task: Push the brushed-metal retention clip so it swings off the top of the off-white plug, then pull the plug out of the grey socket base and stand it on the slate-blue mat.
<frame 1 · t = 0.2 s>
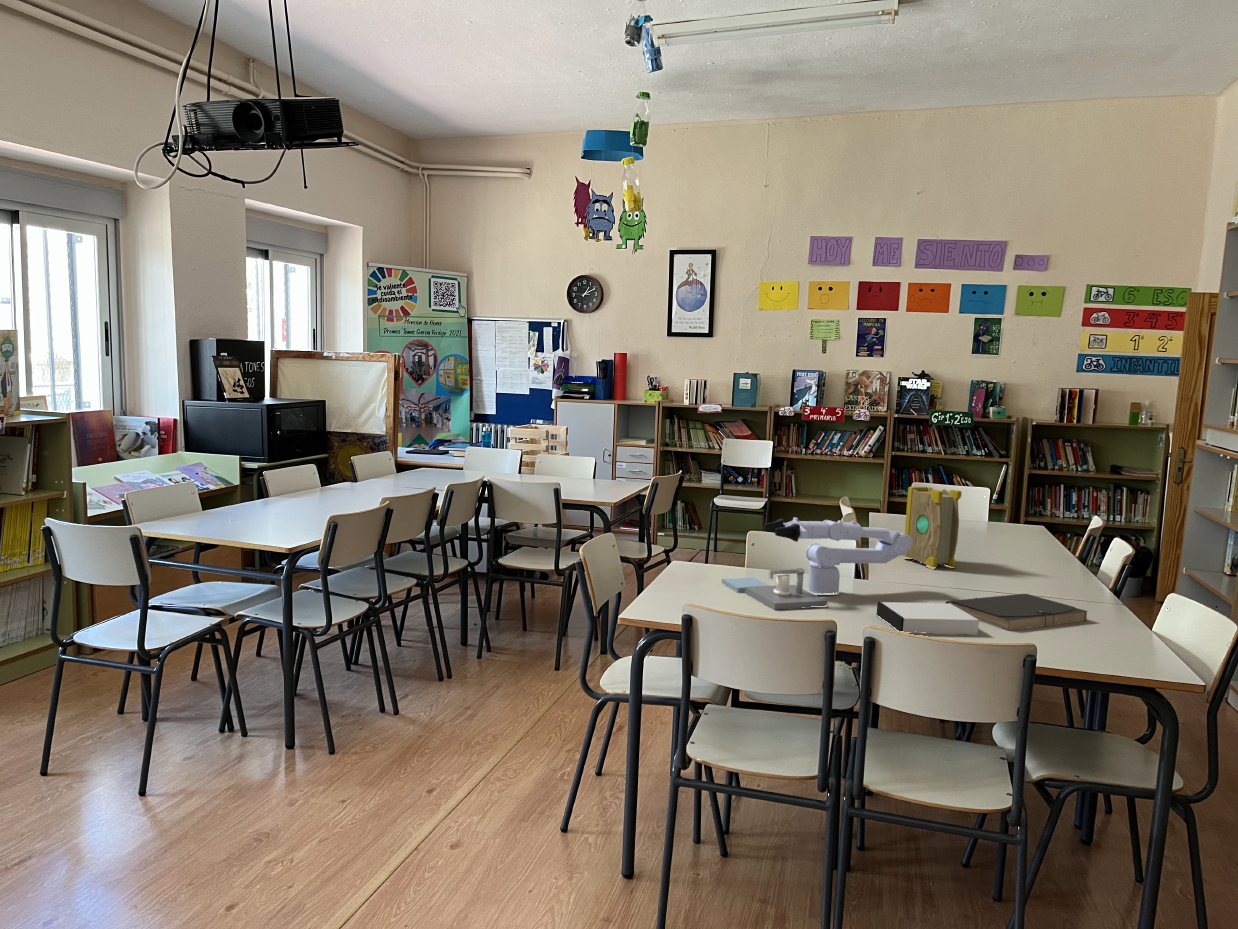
hand: (769, 529, 266), 21 cm above the table, tool horizontal, fingers open, 7 cm apart
disc drive: (925, 627, 242), on the table
clip: (786, 573, 263), point 8 cm above the table, hinge at 0.0°
mat: (745, 587, 278), on the table
grey socket base: (784, 599, 264), on the table
plug: (781, 600, 263), resting in grey socket base
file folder: (1014, 617, 257), on the table
decorative book: (928, 564, 327), on the table
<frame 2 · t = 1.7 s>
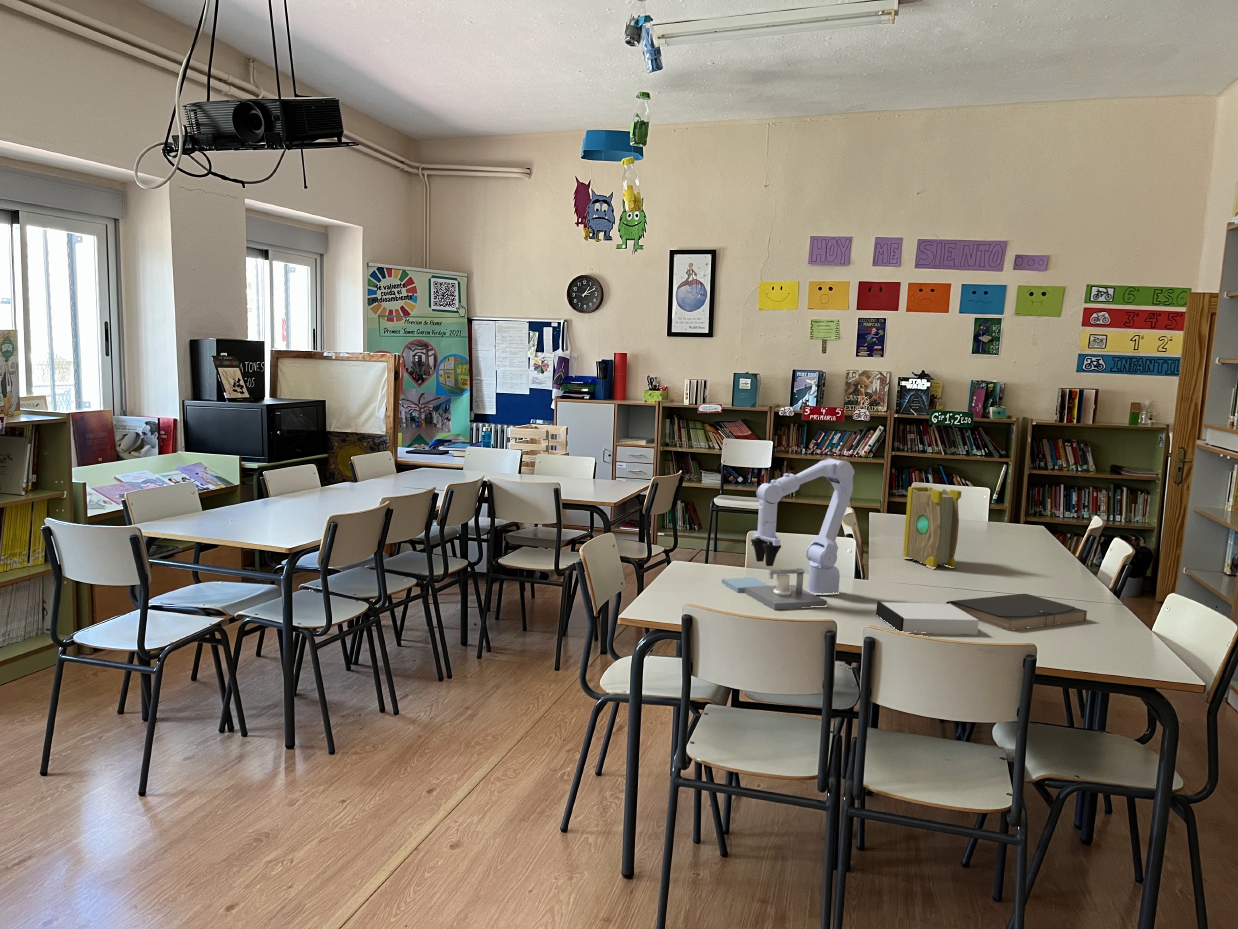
hand: (764, 563, 267), 10 cm above the table, tool pointing down, fingers open, 6 cm apart
nothing on the table moved.
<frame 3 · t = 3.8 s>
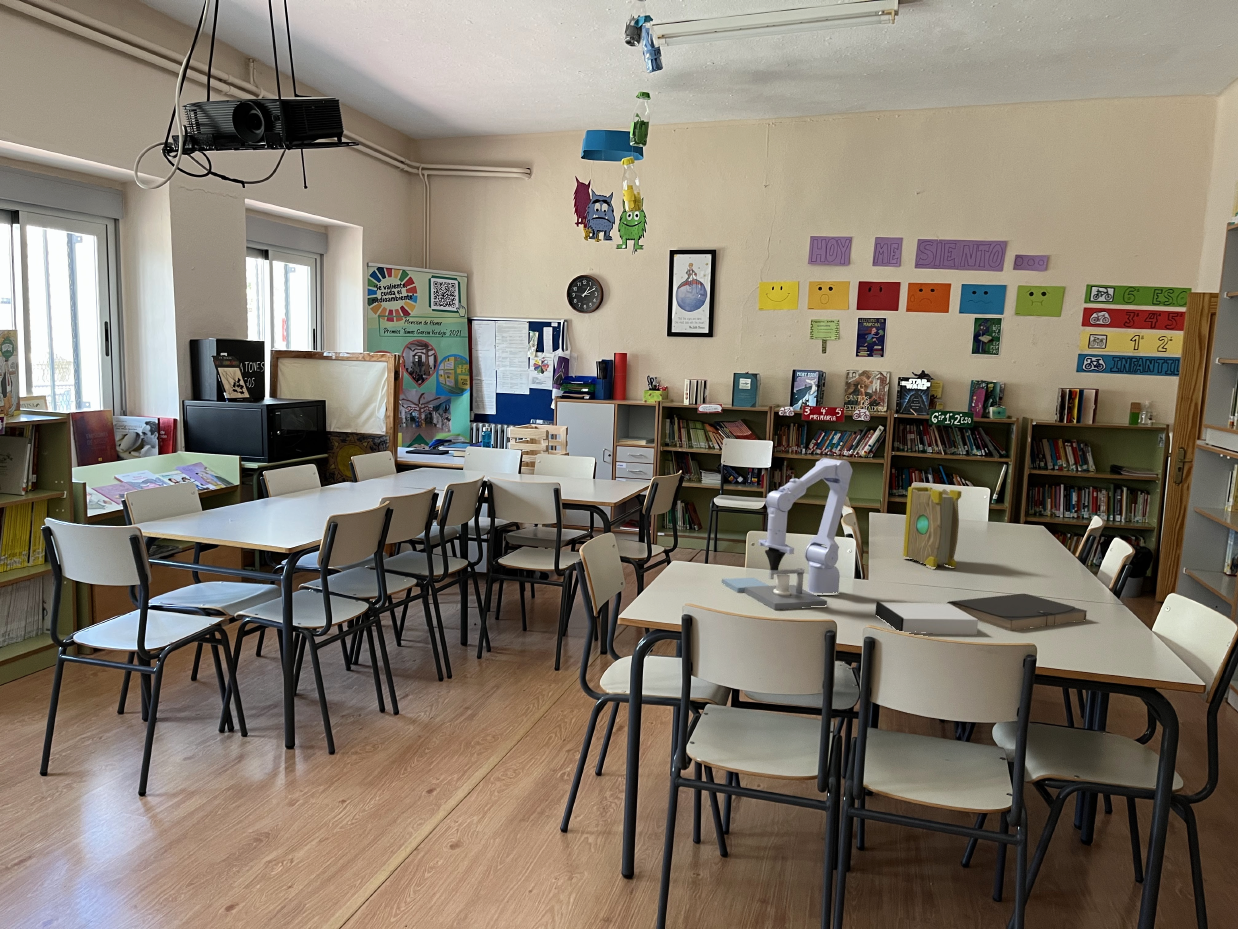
hand: (774, 572, 263), 9 cm above the table, tool pointing down, fingers closed, pressing on clip
clip: (786, 573, 263), point 8 cm above the table, hinge at 1.3°, touching gripper
everything else where it was.
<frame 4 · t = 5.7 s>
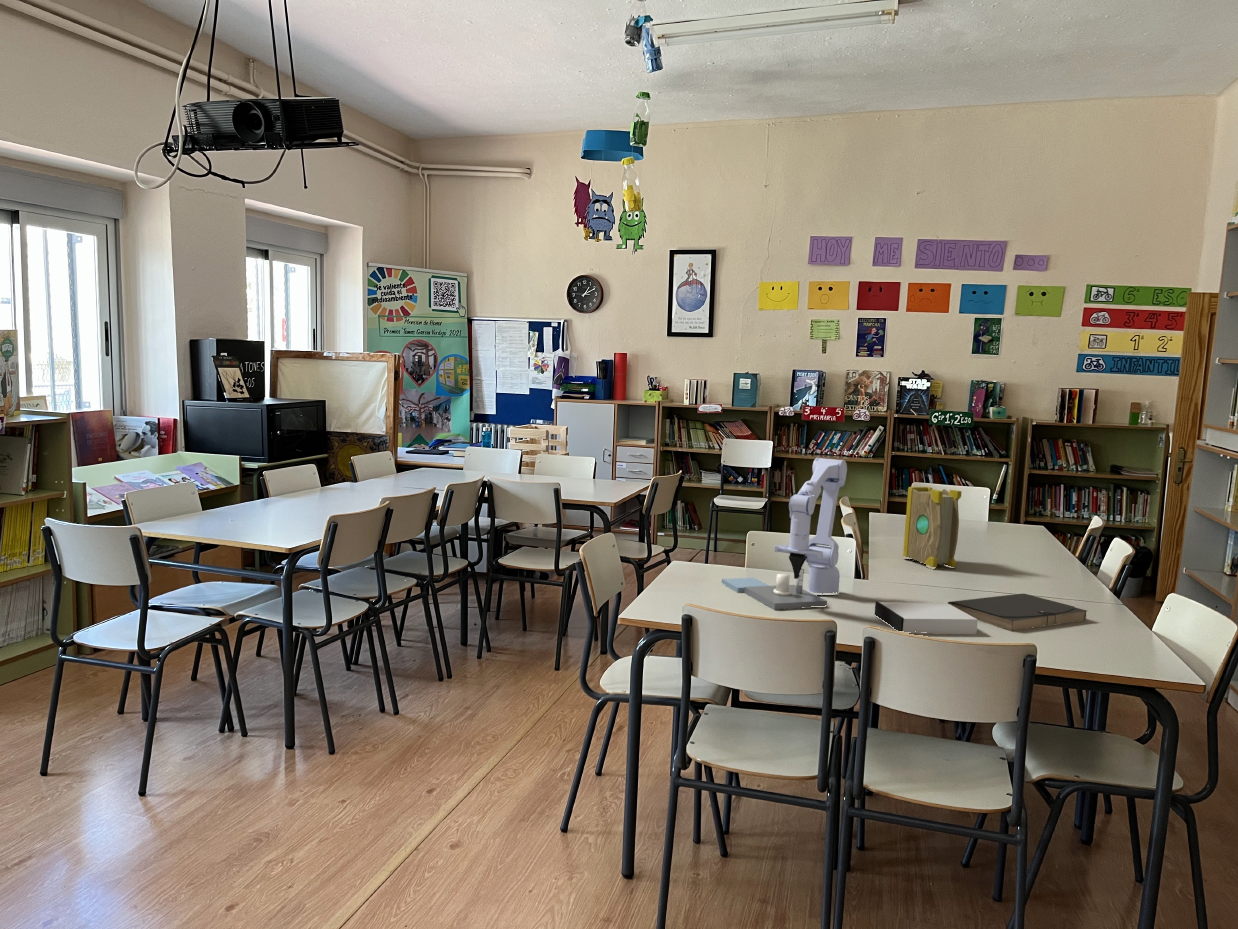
hand: (796, 578, 256), 9 cm above the table, tool pointing down, fingers closed, pressing on clip
clip: (800, 576, 260), point 8 cm above the table, hinge at 60.9°, touching gripper
everything else where it was.
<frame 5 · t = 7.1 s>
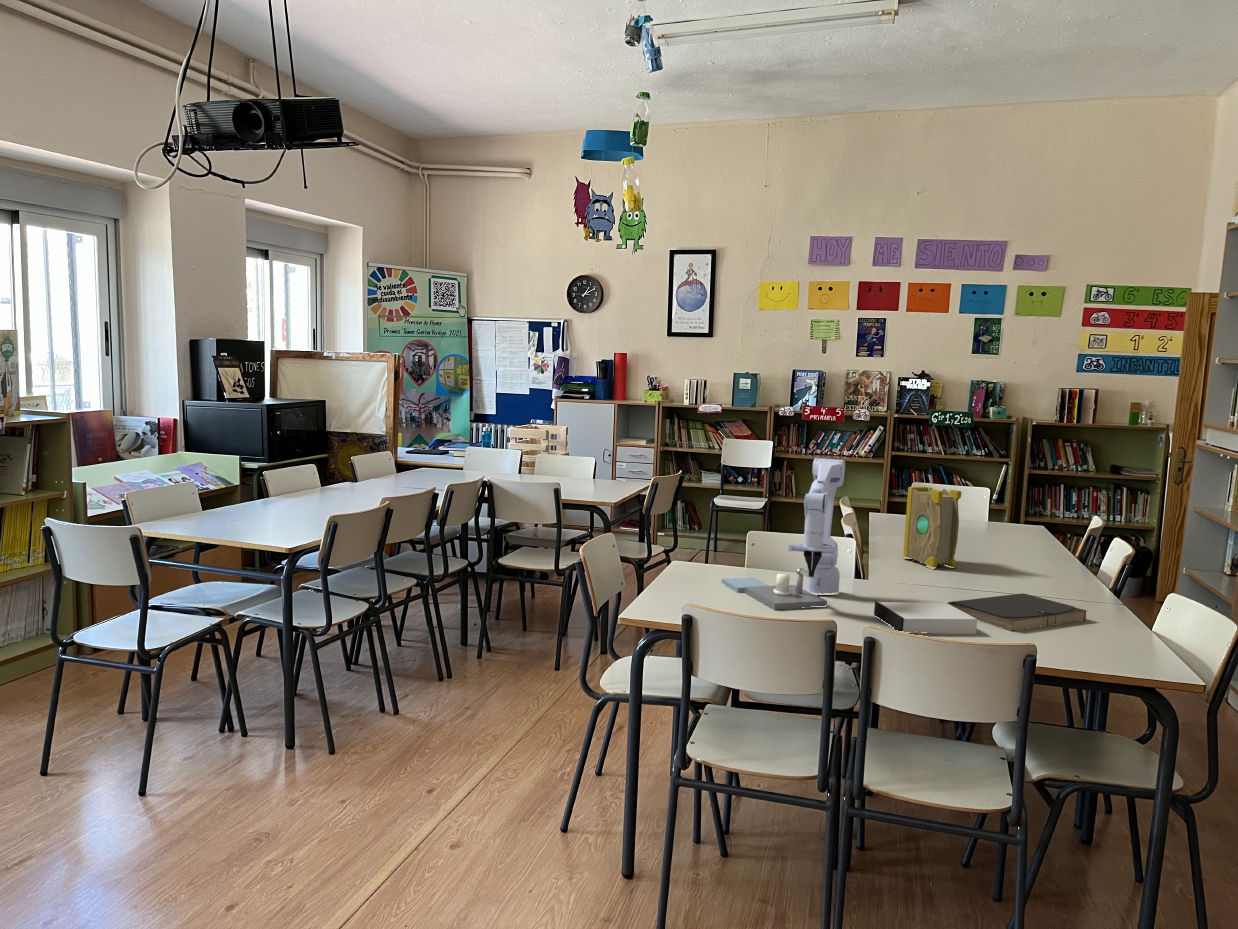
hand: (811, 576, 255), 10 cm above the table, tool pointing down, fingers closed
clip: (808, 576, 260), point 8 cm above the table, hinge at 90.9°
everything else where it was.
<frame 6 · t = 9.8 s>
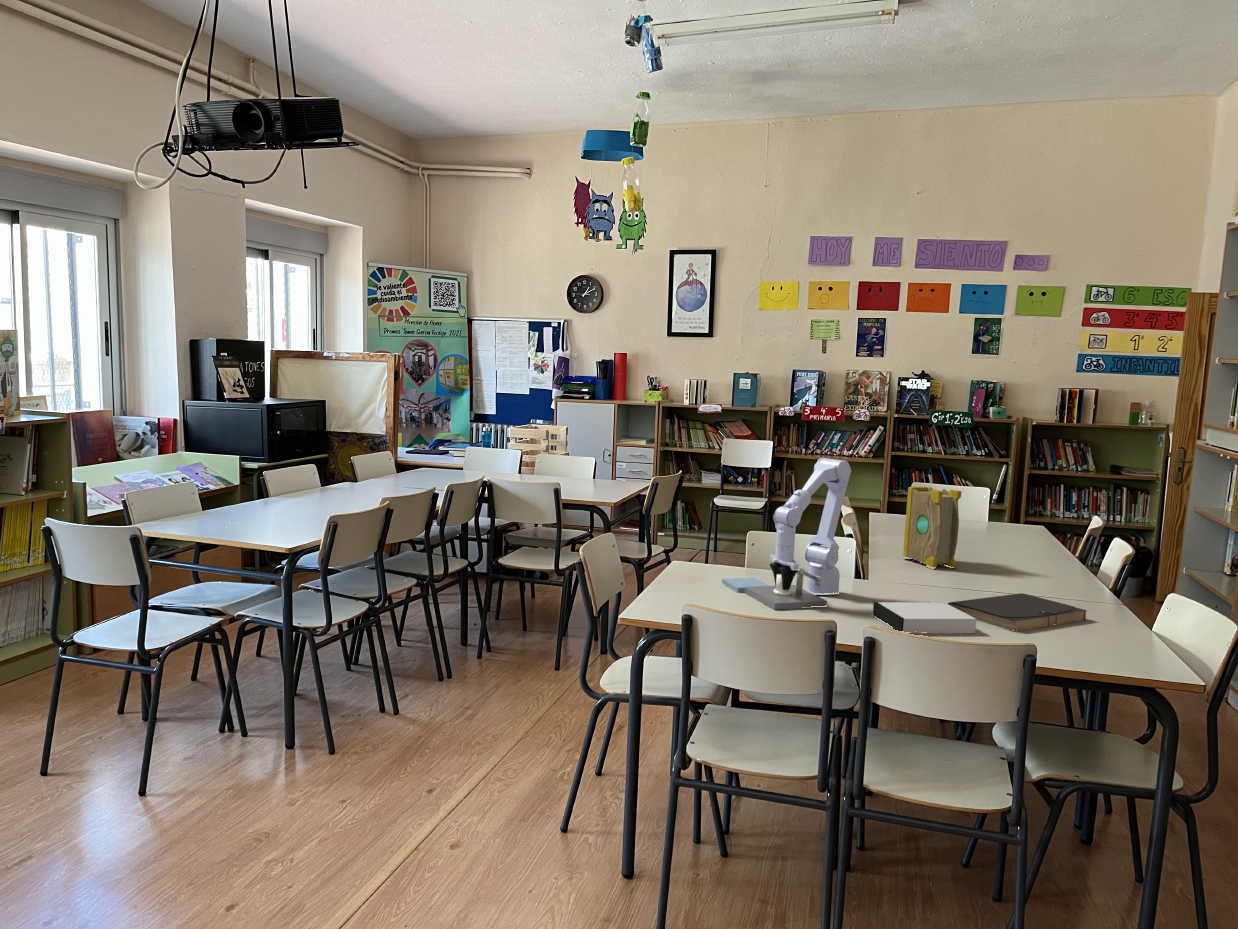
hand: (782, 587, 263), 4 cm above the table, tool pointing down, fingers closed on plug, 4 cm apart
plug: (781, 600, 263), resting in grey socket base, touching gripper
everything else where it was.
when the fingers open (6 cm above the table, at t = 13.5 s): plug stays where it is, resting on mat.
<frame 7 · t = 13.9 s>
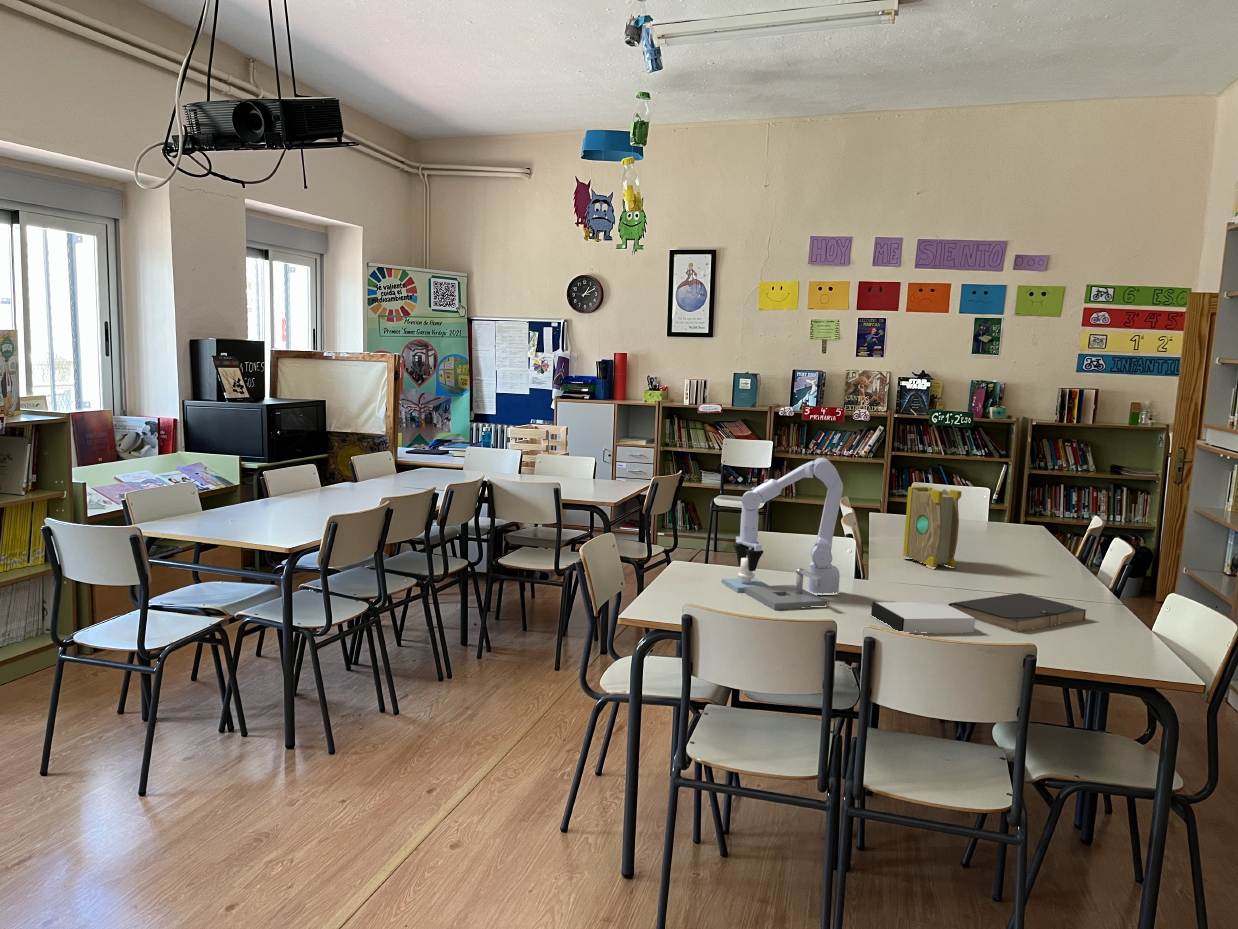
hand: (746, 568, 278), 6 cm above the table, tool pointing down, fingers open, 7 cm apart
plug: (745, 582, 278), point 2 cm above the table, touching mat
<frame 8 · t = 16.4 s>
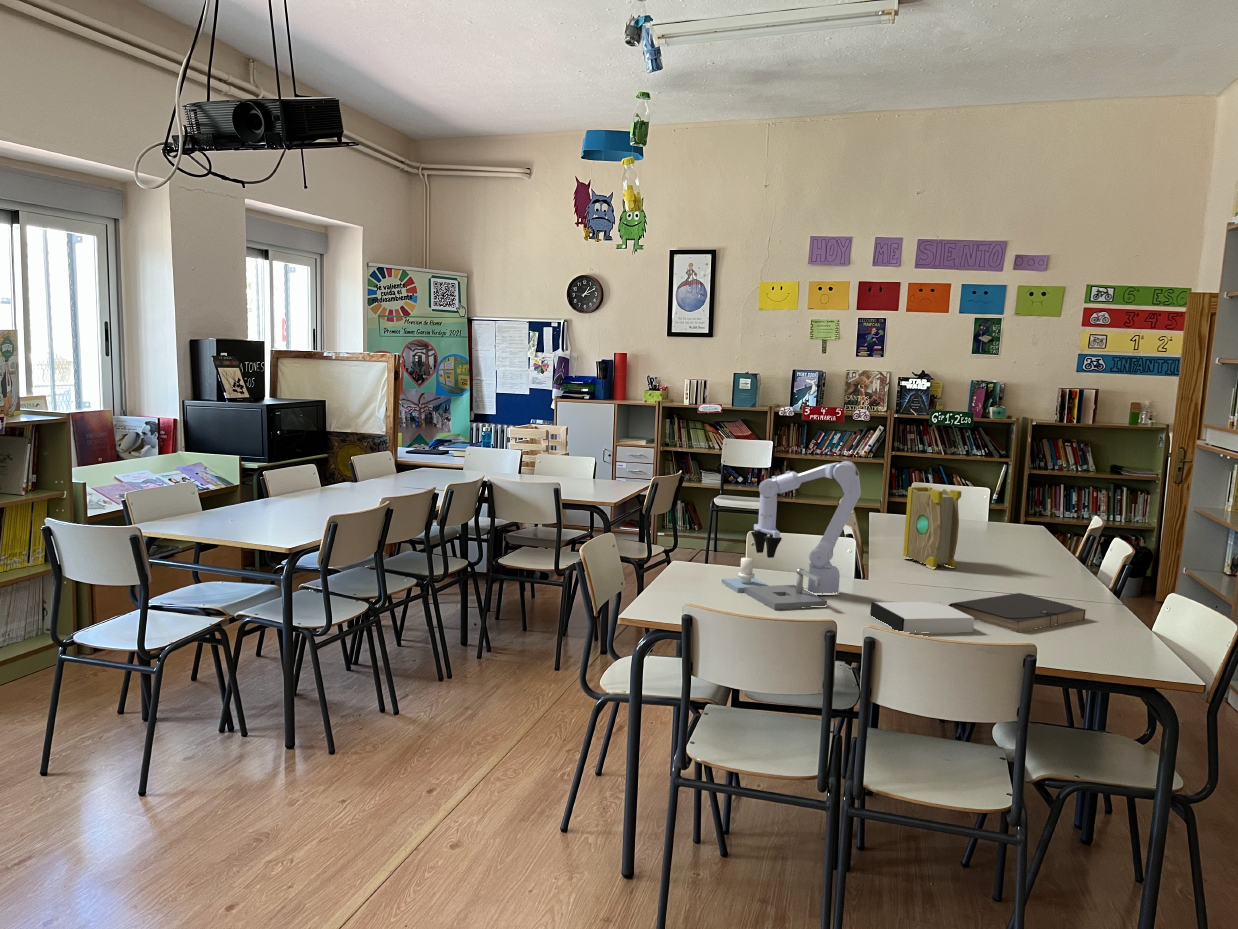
hand: (765, 555, 280), 10 cm above the table, tool pointing down, fingers open, 7 cm apart
at the end: clip at +91° (first picture: +0°); plug inside the target area on the mat (0.1 cm from its centre), point 1.5 cm above the mat's base; plug tilted 0° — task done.
